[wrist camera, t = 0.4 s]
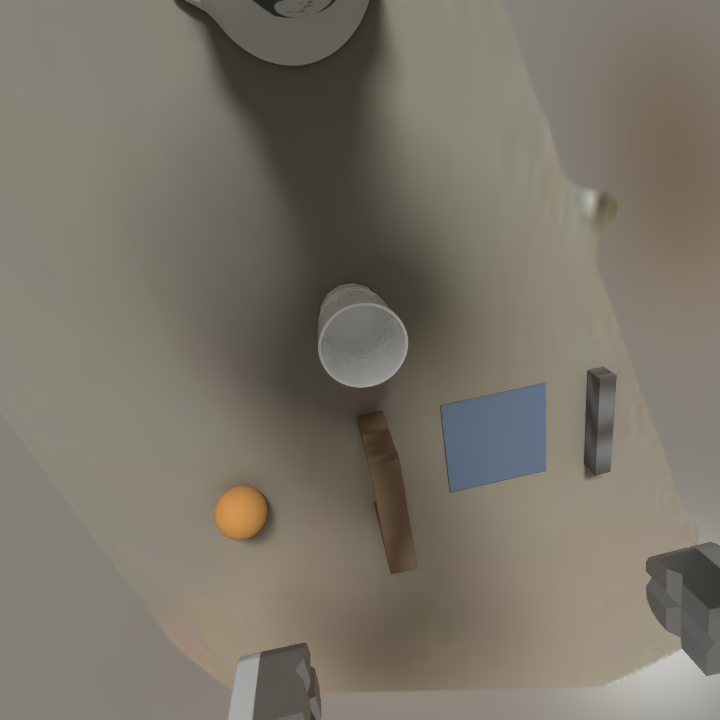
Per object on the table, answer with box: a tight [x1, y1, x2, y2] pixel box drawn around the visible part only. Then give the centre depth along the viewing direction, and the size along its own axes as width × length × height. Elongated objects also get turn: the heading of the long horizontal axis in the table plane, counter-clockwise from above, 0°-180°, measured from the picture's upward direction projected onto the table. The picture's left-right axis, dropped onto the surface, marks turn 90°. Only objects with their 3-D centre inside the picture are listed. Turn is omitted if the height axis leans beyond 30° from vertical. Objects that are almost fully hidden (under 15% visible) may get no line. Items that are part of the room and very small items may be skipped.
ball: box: [214, 486, 267, 540], centre depth 53 cm, size 6×6×6 cm
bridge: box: [357, 411, 417, 574], centre depth 52 cm, size 3×15×10 cm, turn 10°
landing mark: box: [440, 383, 546, 492], centre depth 57 cm, size 13×13×1 cm
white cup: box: [318, 283, 408, 388], centre depth 44 cm, size 8×8×10 cm
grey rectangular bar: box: [584, 367, 617, 475], centre depth 57 cm, size 14×2×2 cm, turn 10°
